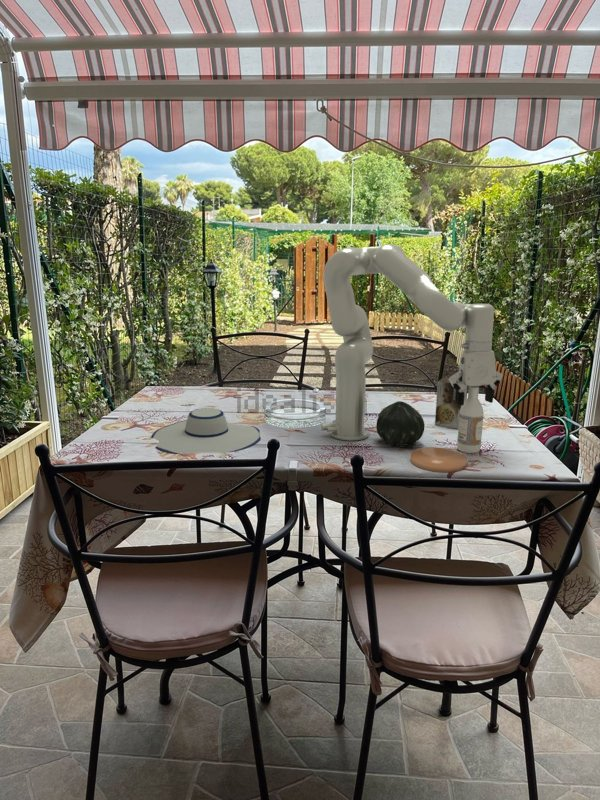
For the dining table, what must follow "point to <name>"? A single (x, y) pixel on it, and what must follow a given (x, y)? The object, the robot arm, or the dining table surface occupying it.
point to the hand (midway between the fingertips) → (474, 402)
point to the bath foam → (470, 423)
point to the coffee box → (447, 404)
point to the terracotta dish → (438, 459)
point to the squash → (400, 424)
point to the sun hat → (205, 434)
